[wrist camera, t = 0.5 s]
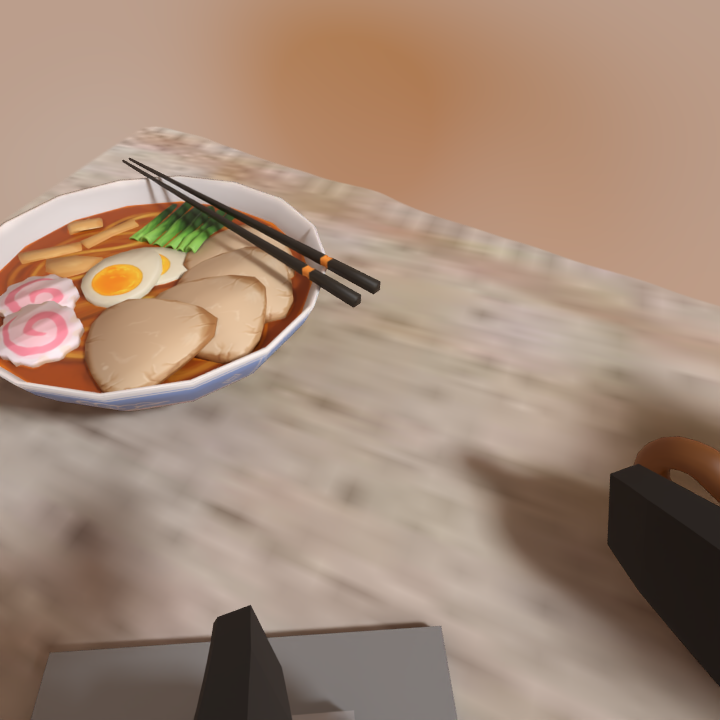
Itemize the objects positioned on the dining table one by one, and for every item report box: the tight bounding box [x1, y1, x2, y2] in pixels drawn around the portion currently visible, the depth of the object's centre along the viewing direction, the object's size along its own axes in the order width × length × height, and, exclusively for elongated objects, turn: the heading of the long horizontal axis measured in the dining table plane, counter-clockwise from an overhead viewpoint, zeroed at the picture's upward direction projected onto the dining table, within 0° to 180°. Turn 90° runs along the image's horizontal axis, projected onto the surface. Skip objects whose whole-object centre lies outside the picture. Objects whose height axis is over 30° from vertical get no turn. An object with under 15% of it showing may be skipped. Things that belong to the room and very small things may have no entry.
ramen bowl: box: [0, 158, 380, 411], centre depth 38 cm, size 25×23×8 cm
